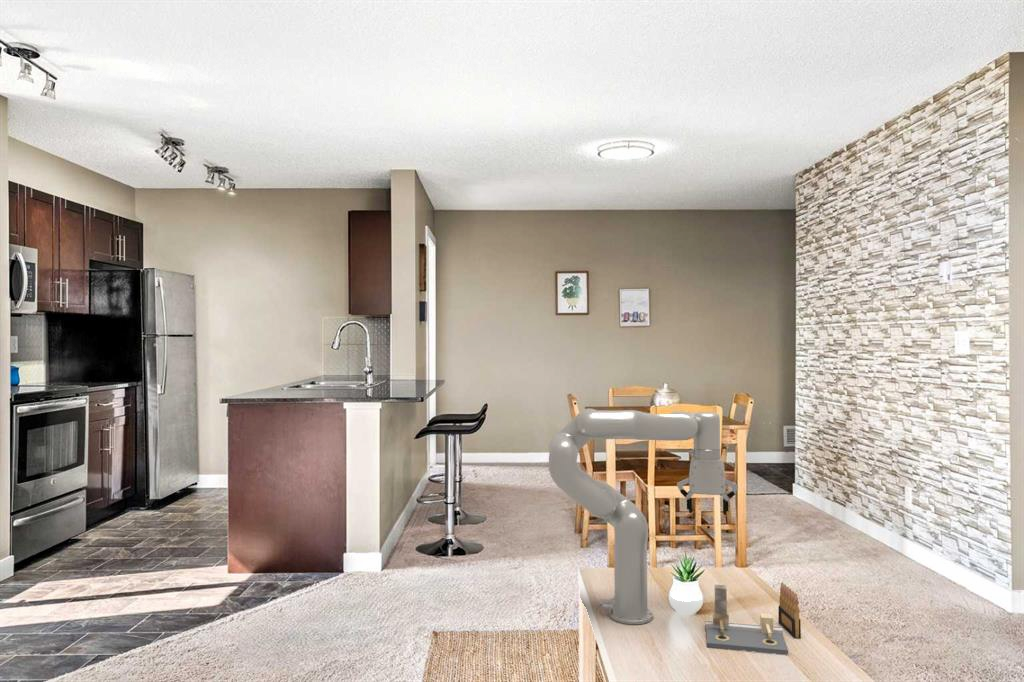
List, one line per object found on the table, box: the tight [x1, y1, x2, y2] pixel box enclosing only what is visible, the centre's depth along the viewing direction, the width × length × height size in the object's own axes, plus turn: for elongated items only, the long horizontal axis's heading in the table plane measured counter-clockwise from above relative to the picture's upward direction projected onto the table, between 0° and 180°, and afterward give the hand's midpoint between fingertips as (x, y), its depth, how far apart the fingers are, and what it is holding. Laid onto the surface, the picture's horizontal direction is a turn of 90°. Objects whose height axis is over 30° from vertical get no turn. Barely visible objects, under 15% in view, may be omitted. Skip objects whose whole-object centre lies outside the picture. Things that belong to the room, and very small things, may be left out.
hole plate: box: [705, 612, 789, 655], centre depth 186 cm, size 20×15×6 cm
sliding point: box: [712, 584, 730, 636], centre depth 188 cm, size 4×9×10 cm, turn 166°
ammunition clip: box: [777, 581, 802, 639], centre depth 192 cm, size 11×2×12 cm, turn 1°
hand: (707, 512), depth 202 cm, fingers open, 9 cm apart
